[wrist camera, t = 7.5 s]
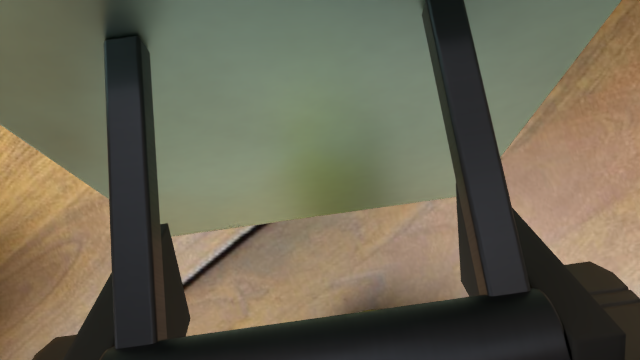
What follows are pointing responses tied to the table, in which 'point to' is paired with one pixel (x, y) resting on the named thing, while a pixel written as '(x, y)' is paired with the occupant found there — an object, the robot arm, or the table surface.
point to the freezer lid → (297, 145)
